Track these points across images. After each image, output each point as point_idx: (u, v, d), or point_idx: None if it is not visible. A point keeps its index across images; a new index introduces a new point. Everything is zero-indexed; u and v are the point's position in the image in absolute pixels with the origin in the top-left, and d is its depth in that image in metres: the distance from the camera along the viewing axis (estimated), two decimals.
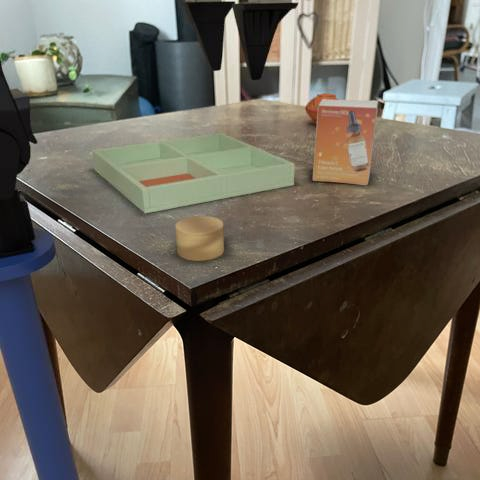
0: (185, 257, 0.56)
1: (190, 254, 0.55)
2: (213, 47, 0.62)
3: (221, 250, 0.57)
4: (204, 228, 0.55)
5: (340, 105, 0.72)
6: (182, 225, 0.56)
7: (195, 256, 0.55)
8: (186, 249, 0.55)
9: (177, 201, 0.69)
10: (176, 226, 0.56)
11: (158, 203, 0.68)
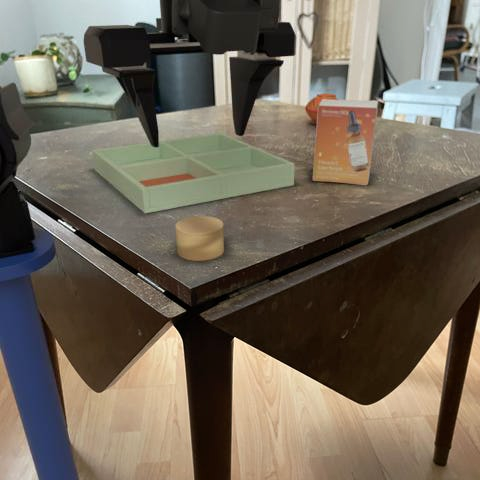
0: (185, 257, 0.56)
1: (190, 254, 0.55)
2: (237, 109, 0.54)
3: (221, 250, 0.57)
4: (204, 228, 0.55)
5: (340, 105, 0.72)
6: (182, 225, 0.56)
7: (195, 256, 0.55)
8: (186, 249, 0.55)
9: (177, 201, 0.69)
10: (176, 226, 0.56)
11: (158, 203, 0.68)
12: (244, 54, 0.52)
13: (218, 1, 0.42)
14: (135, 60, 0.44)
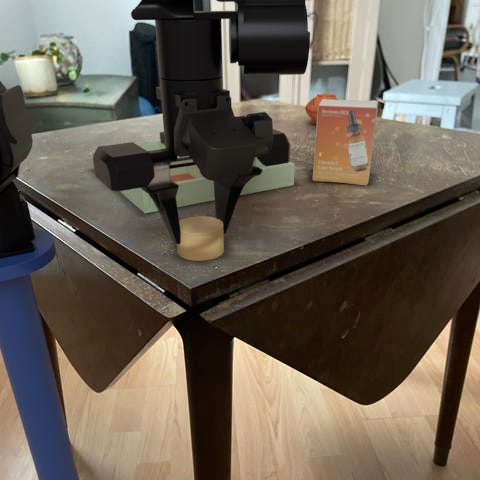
0: (185, 257, 0.56)
1: (190, 254, 0.55)
2: (219, 210, 0.57)
3: (221, 250, 0.57)
4: (204, 228, 0.55)
5: (340, 105, 0.72)
6: (182, 225, 0.56)
7: (195, 256, 0.55)
8: (186, 249, 0.55)
9: (177, 201, 0.69)
10: None
11: None
12: None
13: (216, 134, 0.45)
14: (140, 182, 0.48)
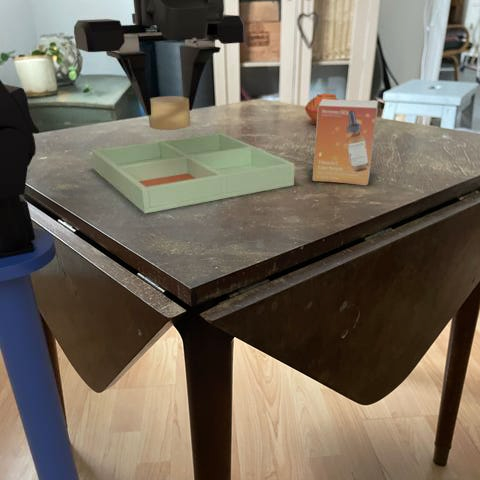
0: (155, 127, 0.65)
1: (159, 124, 0.64)
2: (185, 88, 0.66)
3: (187, 122, 0.65)
4: (171, 101, 0.64)
5: (340, 105, 0.72)
6: (153, 100, 0.65)
7: (164, 125, 0.64)
8: (156, 119, 0.64)
9: (177, 201, 0.69)
10: None
11: (158, 203, 0.68)
12: (189, 43, 0.64)
13: None
14: (112, 46, 0.57)
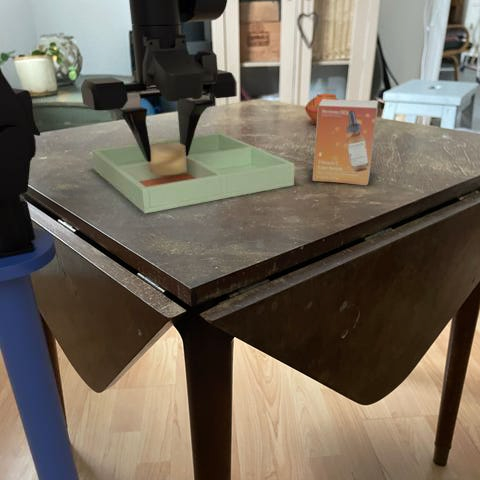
0: (155, 172, 0.71)
1: (158, 169, 0.70)
2: (182, 136, 0.72)
3: (184, 168, 0.71)
4: (169, 149, 0.70)
5: (340, 105, 0.72)
6: (152, 147, 0.71)
7: (162, 171, 0.70)
8: (155, 166, 0.70)
9: (177, 201, 0.69)
10: None
11: (158, 203, 0.68)
12: None
13: (173, 65, 0.60)
14: (116, 104, 0.63)
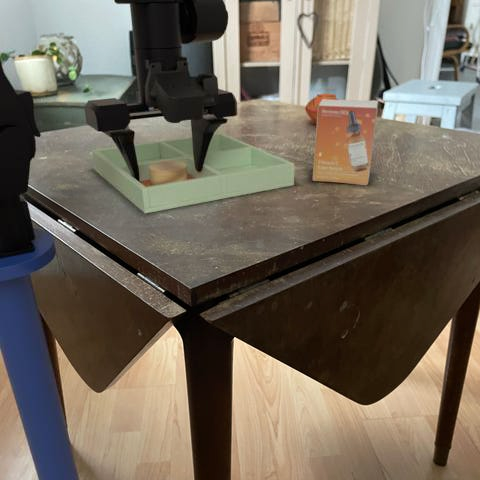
0: None
1: None
2: (196, 152, 0.74)
3: None
4: (171, 168, 0.71)
5: (340, 105, 0.72)
6: (154, 166, 0.72)
7: None
8: (157, 184, 0.71)
9: (177, 201, 0.69)
10: (149, 167, 0.72)
11: (158, 203, 0.68)
12: None
13: (174, 88, 0.61)
14: (119, 126, 0.64)
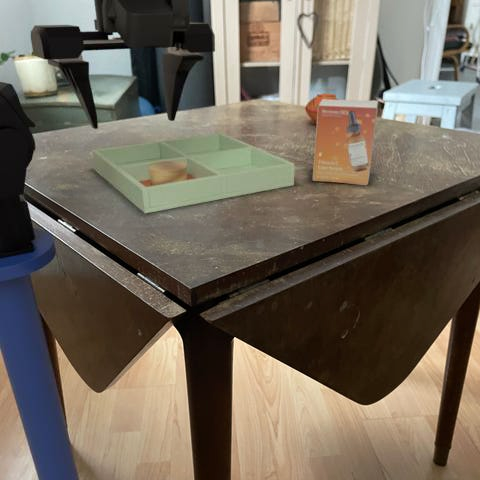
0: None
1: None
2: (168, 97, 0.63)
3: None
4: (171, 168, 0.71)
5: (340, 105, 0.72)
6: (154, 166, 0.72)
7: None
8: (157, 184, 0.71)
9: (177, 201, 0.69)
10: (149, 167, 0.72)
11: (158, 203, 0.68)
12: (172, 50, 0.61)
13: (136, 5, 0.51)
14: (71, 53, 0.53)
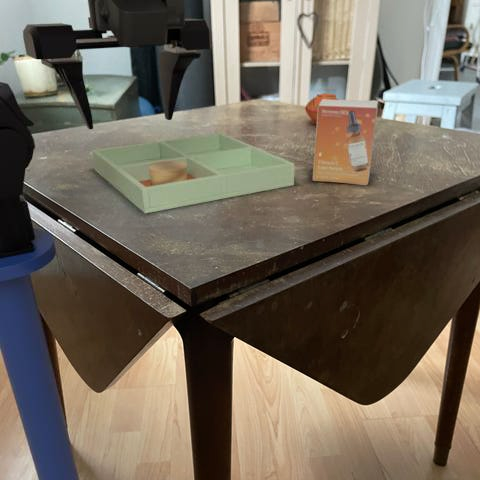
0: None
1: None
2: (165, 96, 0.62)
3: None
4: (171, 168, 0.71)
5: (340, 105, 0.72)
6: (154, 166, 0.72)
7: None
8: (157, 184, 0.71)
9: (177, 201, 0.69)
10: (149, 167, 0.72)
11: (158, 203, 0.68)
12: (168, 48, 0.60)
13: (129, 2, 0.49)
14: (63, 53, 0.52)
